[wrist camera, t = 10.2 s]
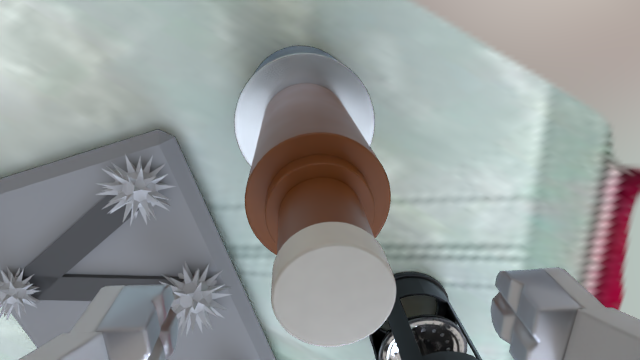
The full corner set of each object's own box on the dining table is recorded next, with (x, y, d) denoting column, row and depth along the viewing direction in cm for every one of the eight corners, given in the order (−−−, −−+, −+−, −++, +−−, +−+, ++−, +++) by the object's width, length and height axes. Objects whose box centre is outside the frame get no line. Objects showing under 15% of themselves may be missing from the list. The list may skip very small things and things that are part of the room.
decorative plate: (-58, 194, 36) (-136, 234, 29) (174, 121, 35) (148, 145, 28) (106, 421, 47) (76, 488, 40) (284, 370, 46) (284, 429, 39)
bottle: (349, 82, 26) (456, 193, 9) (347, 165, 28) (432, 375, 12) (260, 83, 26) (210, 201, 9) (264, 168, 28) (231, 388, 11)
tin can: (355, 43, 34) (378, 52, 25) (352, 150, 37) (371, 188, 29) (243, 44, 33) (228, 53, 25) (250, 153, 36) (239, 193, 28)
